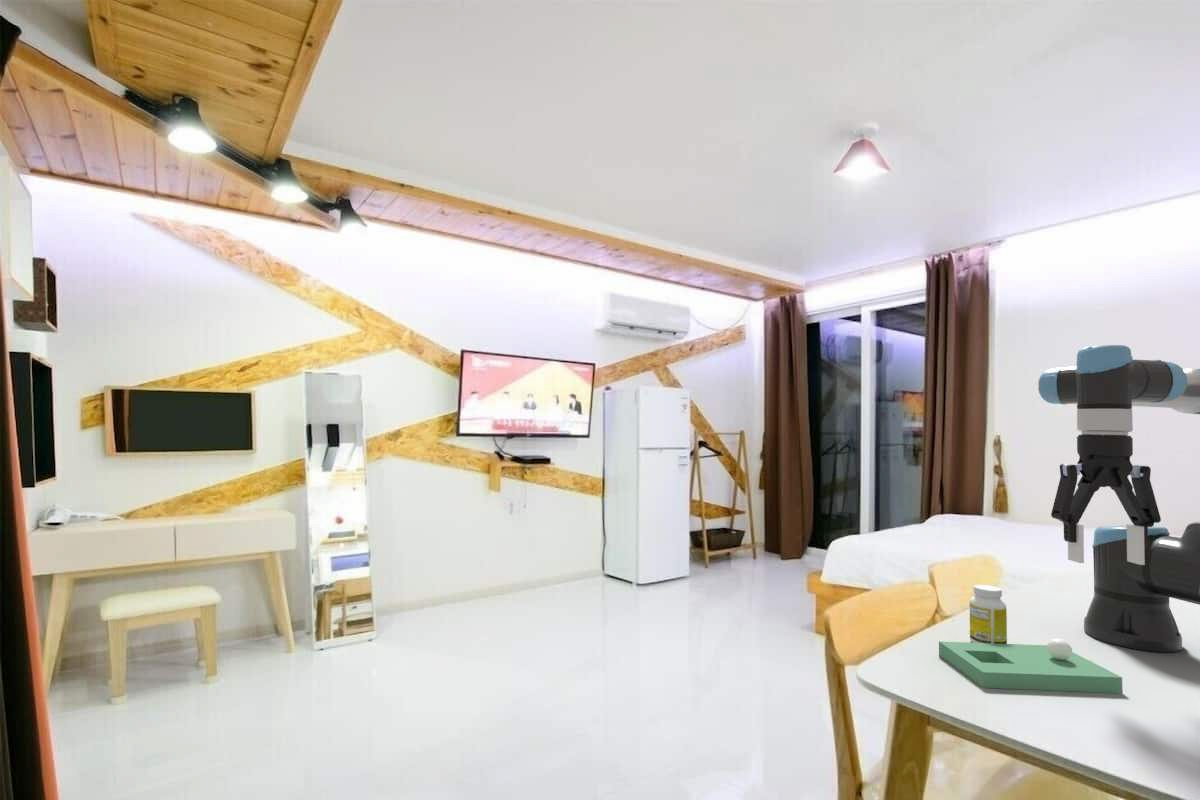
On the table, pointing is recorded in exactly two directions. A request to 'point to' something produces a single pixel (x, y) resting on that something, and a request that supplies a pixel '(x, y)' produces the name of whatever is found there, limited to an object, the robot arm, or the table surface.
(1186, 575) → the robot arm
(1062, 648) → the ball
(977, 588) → the pill bottle
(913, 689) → the table surface
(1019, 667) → the green
